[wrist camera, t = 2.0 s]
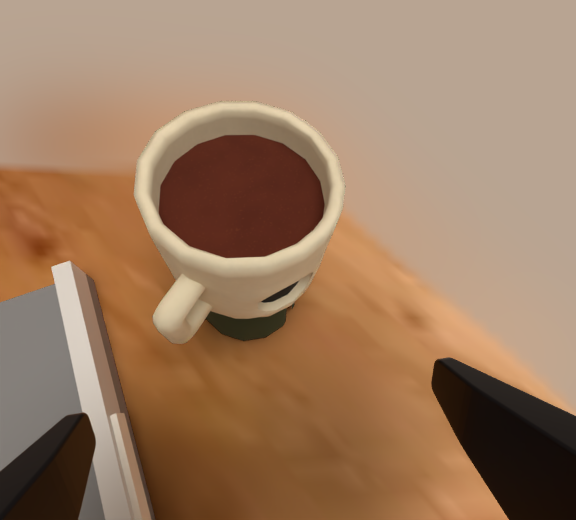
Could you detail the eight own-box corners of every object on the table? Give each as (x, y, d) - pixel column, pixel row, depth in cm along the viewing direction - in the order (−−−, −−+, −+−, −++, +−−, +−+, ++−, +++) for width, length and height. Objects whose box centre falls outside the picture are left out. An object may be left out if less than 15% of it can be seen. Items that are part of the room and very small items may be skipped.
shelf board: (-63, 744, 14) (-145, 830, 11) (-83, 341, 20) (-140, 329, 17) (182, 596, 17) (167, 635, 14) (98, 278, 23) (75, 258, 20)
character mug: (252, 398, 21) (251, 379, 9) (154, 340, 21) (32, 251, 10) (328, 257, 25) (396, 117, 13) (244, 213, 26) (237, 45, 14)
